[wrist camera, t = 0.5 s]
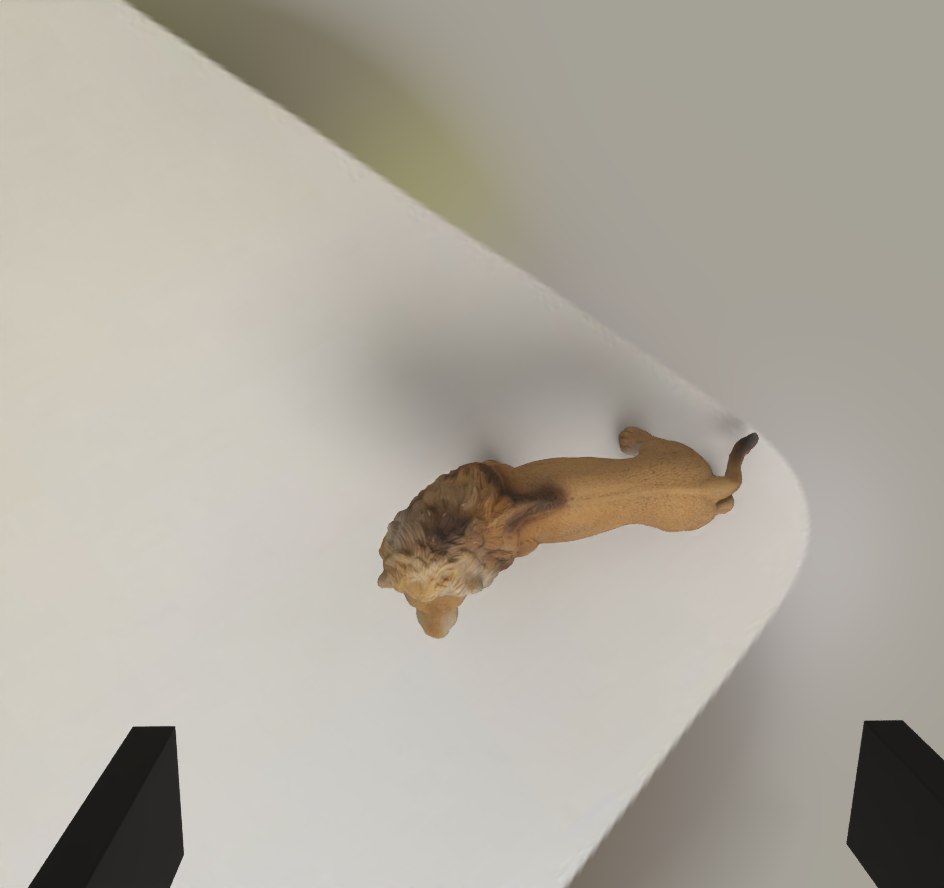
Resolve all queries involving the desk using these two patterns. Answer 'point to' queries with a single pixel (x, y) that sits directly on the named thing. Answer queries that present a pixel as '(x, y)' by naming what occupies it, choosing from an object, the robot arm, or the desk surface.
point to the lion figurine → (542, 515)
